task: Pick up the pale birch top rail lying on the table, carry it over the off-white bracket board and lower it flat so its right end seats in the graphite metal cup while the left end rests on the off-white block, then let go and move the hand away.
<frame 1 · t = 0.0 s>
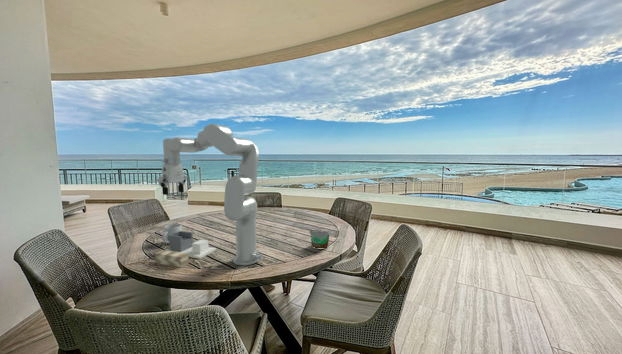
hand: (173, 193, 126), 31 cm above the table, tool pointing down, fingers open, 9 cm apart
food container: (318, 248, 131), on the table
cup bracket: (191, 251, 125), on the table
mug: (171, 243, 137), on the table
top rail: (172, 263, 111), on the table
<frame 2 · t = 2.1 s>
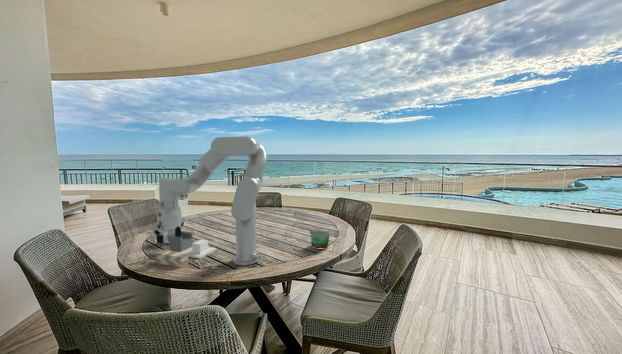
hand: (169, 239, 110), 12 cm above the table, tool pointing down, fingers open, 9 cm apart
nothing on the table moved.
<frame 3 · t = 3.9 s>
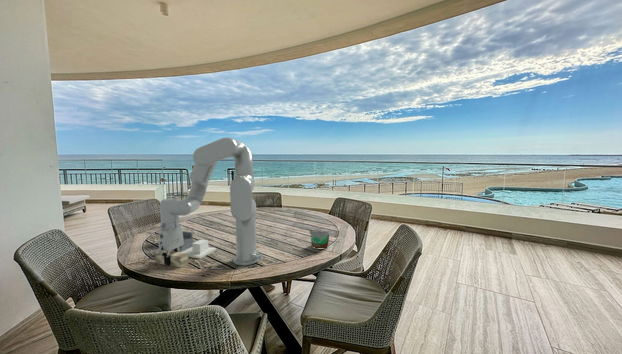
hand: (171, 262, 111), 1 cm above the table, tool pointing down, fingers closed on top rail, 4 cm apart
top rail: (172, 263, 111), on the table, touching gripper
everything else where it was.
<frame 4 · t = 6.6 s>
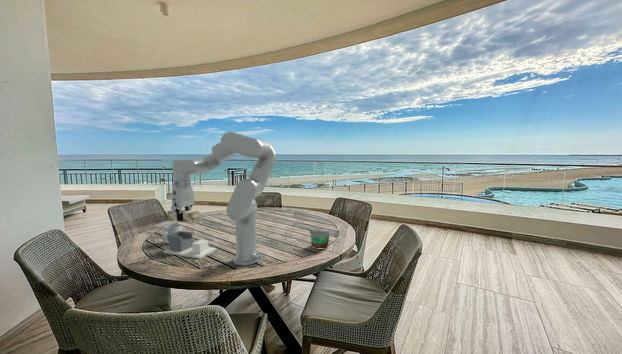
hand: (183, 219, 119), 19 cm above the table, tool pointing down, fingers closed on top rail, 4 cm apart
top rail: (183, 220, 119), point 18 cm above the table, touching gripper
everything else where it was.
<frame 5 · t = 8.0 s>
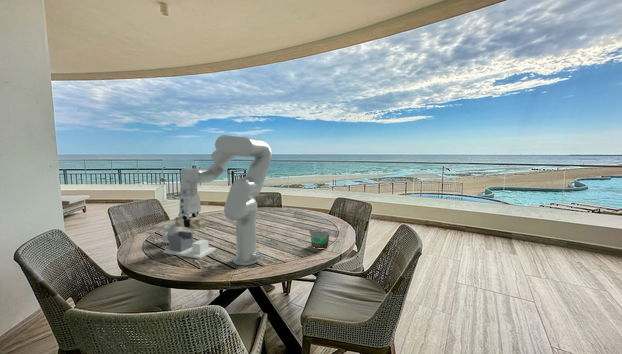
hand: (190, 225, 124), 14 cm above the table, tool pointing down, fingers closed on top rail, 4 cm apart
top rail: (190, 227, 124), point 14 cm above the table, touching gripper
everything else where it was.
when the fingers open (8 cm above the table, at t = 9.4 s): top rail drops 1 cm, resting on cup bracket.
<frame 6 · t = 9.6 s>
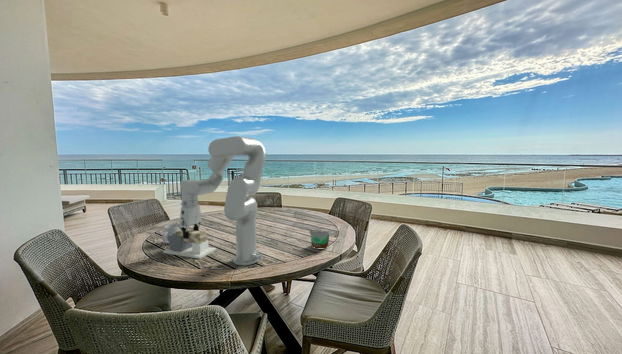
hand: (191, 236, 125), 9 cm above the table, tool pointing down, fingers open, 6 cm apart
top rail: (191, 240, 125), point 6 cm above the table, touching cup bracket
everything else where it was.
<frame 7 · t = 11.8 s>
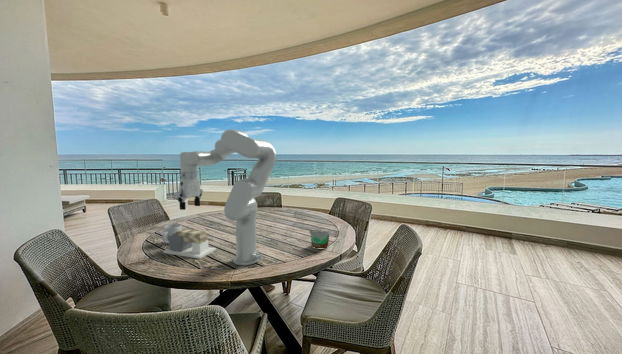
hand: (190, 207, 123), 24 cm above the table, tool pointing down, fingers open, 9 cm apart
nothing on the table moved.
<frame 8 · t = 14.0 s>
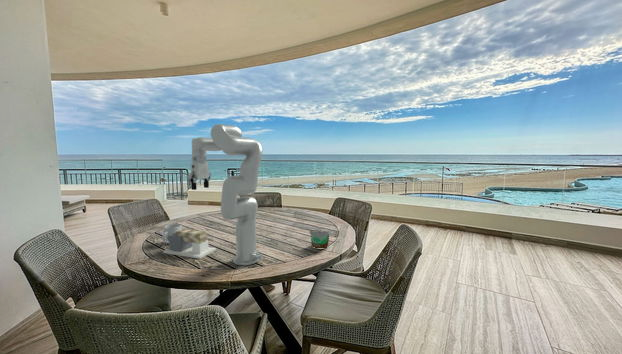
hand: (200, 188, 138), 32 cm above the table, tool pointing down, fingers open, 9 cm apart
nothing on the table moved.
at the end: top rail 0.2 cm off-centre on the cup bracket, point 6.0 cm above the cup bracket's base; top rail tilted 0°; the gripper is holding nothing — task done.
